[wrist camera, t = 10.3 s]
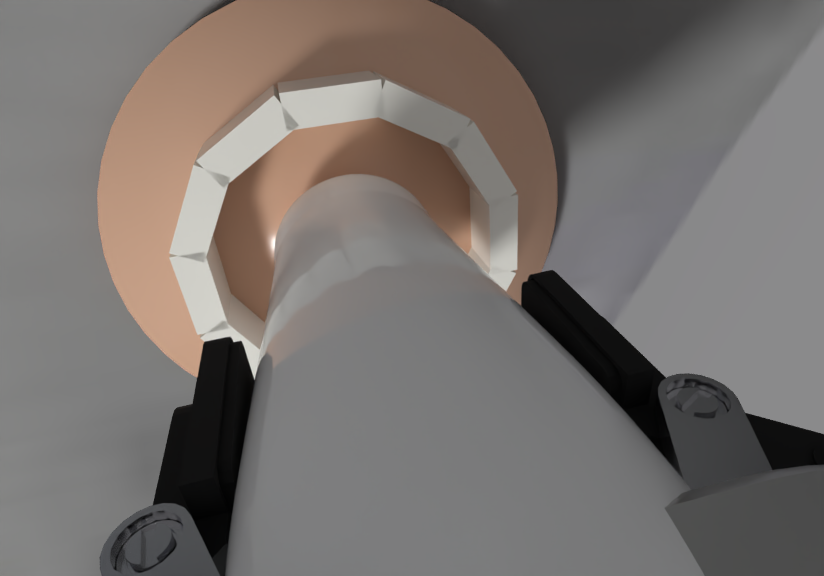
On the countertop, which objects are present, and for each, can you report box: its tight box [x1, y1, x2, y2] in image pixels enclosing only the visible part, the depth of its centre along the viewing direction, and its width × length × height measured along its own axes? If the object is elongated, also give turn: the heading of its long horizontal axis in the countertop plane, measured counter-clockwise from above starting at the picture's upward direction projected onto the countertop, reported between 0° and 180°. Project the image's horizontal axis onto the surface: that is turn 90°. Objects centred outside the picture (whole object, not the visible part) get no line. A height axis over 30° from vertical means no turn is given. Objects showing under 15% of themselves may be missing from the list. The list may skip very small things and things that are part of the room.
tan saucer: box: [97, 0, 558, 380], centre depth 18 cm, size 16×16×3 cm
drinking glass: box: [224, 174, 705, 576], centre depth 12 cm, size 7×7×15 cm
